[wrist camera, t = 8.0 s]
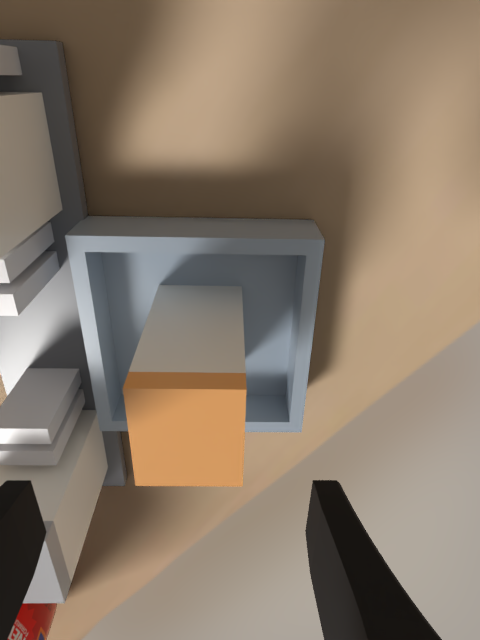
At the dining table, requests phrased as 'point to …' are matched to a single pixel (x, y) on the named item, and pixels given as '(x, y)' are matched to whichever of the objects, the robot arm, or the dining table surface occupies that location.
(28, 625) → the soda can
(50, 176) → the block
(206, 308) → the block
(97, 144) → the dining table surface
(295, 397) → the tray
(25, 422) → the board
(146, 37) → the dining table surface
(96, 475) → the block
